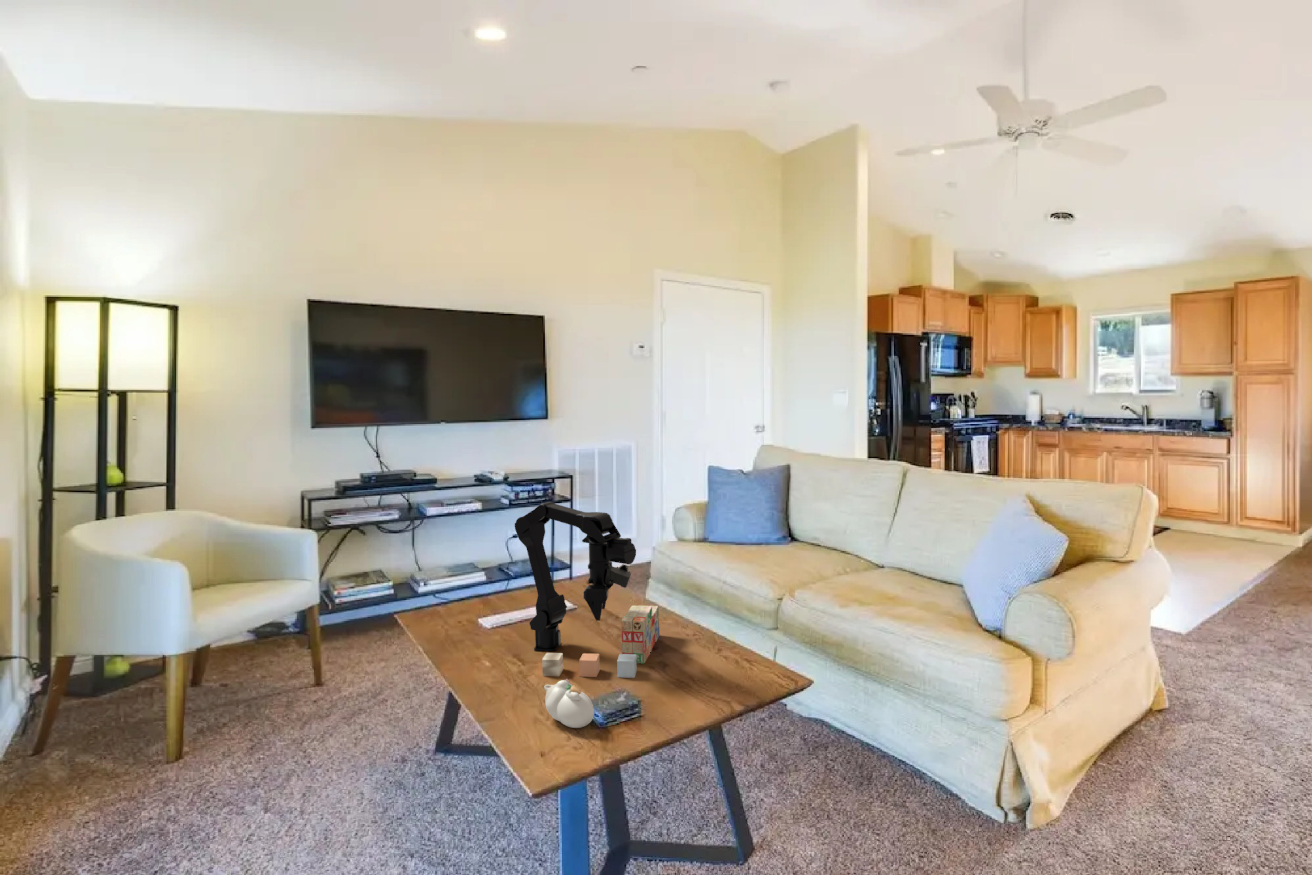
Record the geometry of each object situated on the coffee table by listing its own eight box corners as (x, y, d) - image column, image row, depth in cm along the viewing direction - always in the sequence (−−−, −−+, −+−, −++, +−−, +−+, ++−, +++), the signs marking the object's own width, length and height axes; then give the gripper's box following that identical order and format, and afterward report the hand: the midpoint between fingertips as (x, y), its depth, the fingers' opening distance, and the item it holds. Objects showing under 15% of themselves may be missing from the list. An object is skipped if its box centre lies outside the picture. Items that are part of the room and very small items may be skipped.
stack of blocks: (639, 634, 204) (638, 595, 203) (659, 635, 202) (659, 596, 201) (622, 663, 183) (620, 619, 182) (644, 664, 181) (643, 620, 181)
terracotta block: (579, 676, 175) (579, 660, 174) (583, 669, 179) (582, 653, 179) (596, 677, 174) (596, 660, 174) (599, 669, 179) (599, 653, 178)
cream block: (542, 676, 176) (542, 659, 175) (547, 668, 180) (546, 652, 180) (559, 676, 175) (558, 659, 175) (563, 669, 180) (562, 653, 179)
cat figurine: (594, 689, 146) (551, 664, 156) (569, 719, 142) (526, 691, 151) (608, 715, 151) (565, 689, 161) (585, 744, 147) (542, 715, 156)
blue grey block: (617, 677, 174) (617, 660, 173) (619, 670, 178) (619, 653, 178) (634, 677, 173) (634, 661, 173) (636, 670, 178) (636, 654, 177)
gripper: (625, 569, 173) (625, 627, 174) (631, 550, 191) (632, 603, 193) (582, 568, 174) (583, 626, 175) (593, 550, 192) (594, 603, 193)
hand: (600, 614), depth 184 cm, fingers open, 9 cm apart
